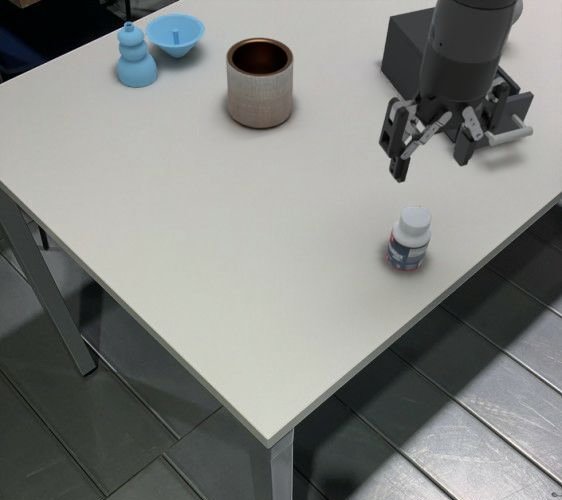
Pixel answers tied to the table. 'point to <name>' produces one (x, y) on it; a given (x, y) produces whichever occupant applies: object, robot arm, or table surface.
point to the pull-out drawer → (504, 117)
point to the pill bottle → (409, 239)
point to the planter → (259, 82)
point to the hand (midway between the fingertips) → (429, 169)
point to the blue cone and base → (164, 33)
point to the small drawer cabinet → (406, 50)
